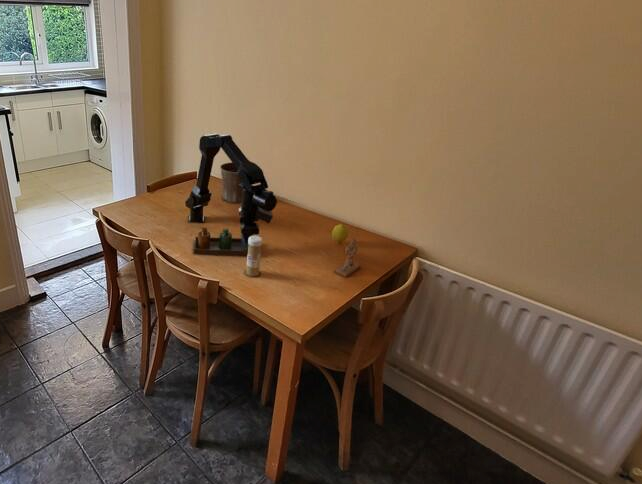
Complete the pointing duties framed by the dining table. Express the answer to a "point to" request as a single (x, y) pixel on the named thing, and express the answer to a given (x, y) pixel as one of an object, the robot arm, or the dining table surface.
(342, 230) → the lemon
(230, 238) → the green bottle
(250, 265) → the sprinkles bottle
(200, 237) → the amber bottle
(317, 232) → the dining table surface
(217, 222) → the dining table surface
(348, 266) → the grey statuette
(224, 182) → the plant pot
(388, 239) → the dining table surface
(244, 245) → the blue bottle
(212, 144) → the robot arm
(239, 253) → the tray
